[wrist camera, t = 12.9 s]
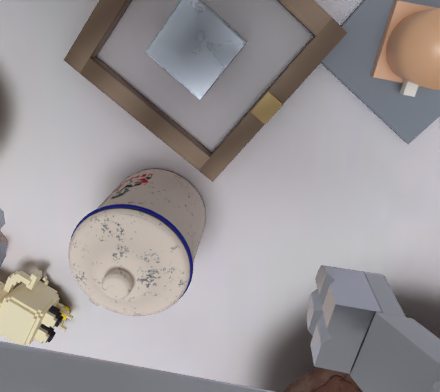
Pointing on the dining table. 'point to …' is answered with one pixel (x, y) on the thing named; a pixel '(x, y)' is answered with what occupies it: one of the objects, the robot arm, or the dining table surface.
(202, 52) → the grey square block
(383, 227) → the dining table surface
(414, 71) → the tan domed square base
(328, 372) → the pottery vessel
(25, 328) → the cat figure
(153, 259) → the teacup with lid
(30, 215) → the dining table surface
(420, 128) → the pad
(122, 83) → the frame
